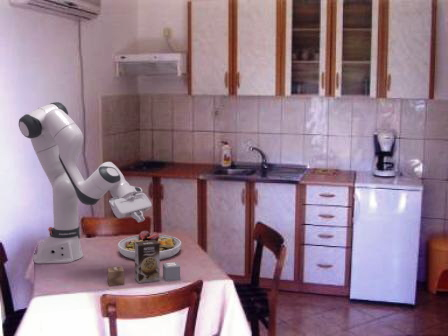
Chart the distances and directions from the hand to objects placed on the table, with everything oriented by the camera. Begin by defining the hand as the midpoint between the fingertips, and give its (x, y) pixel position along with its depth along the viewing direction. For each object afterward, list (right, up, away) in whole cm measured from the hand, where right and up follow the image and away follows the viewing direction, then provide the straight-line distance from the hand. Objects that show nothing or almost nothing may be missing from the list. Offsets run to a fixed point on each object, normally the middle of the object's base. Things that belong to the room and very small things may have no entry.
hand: (141, 221), depth 243 cm
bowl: (-1, -19, +36) cm, 40 cm away
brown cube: (-10, -25, -5) cm, 27 cm away
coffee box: (+3, -25, -1) cm, 25 cm away
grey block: (+12, -24, +1) cm, 27 cm away
